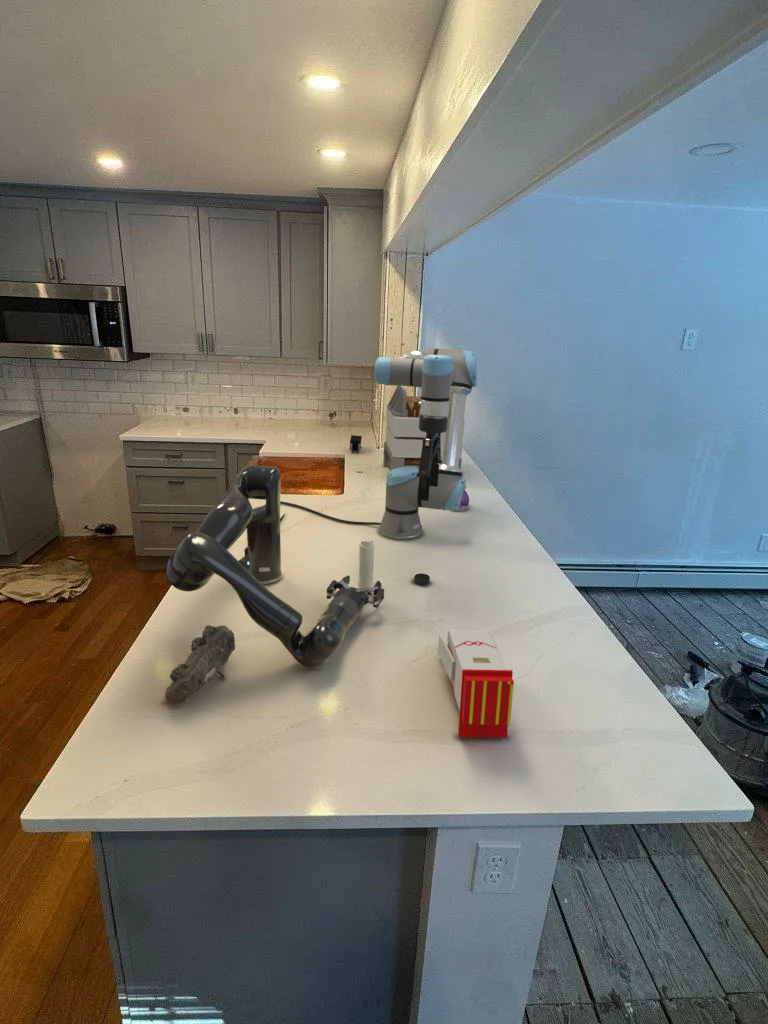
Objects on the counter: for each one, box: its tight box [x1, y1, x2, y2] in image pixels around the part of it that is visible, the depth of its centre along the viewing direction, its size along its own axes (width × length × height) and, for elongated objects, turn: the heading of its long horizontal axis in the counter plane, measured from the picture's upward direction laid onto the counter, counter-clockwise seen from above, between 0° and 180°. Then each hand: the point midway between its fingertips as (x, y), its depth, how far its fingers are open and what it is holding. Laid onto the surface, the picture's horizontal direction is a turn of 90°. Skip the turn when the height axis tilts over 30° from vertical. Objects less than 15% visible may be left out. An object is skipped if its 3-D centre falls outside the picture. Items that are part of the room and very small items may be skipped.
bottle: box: [357, 537, 375, 594], centre depth 154 cm, size 4×4×17 cm
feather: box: [280, 513, 286, 523], centre depth 210 cm, size 2×28×2 cm
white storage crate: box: [383, 386, 465, 472], centre depth 268 cm, size 34×33×41 cm
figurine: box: [453, 470, 470, 512], centre depth 226 cm, size 9×10×15 cm
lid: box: [413, 572, 431, 587], centre depth 165 cm, size 5×5×2 cm
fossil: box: [165, 624, 236, 705], centre depth 118 cm, size 22×10×15 cm
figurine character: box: [349, 434, 363, 454], centre depth 310 cm, size 7×8×15 cm
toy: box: [437, 628, 515, 738], centre depth 117 cm, size 12×13×30 cm
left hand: (363, 581), depth 152 cm, fingers open, 8 cm apart
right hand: (428, 492), depth 156 cm, fingers open, 13 cm apart
